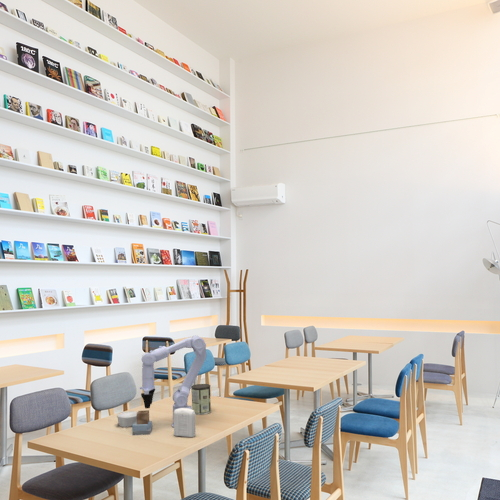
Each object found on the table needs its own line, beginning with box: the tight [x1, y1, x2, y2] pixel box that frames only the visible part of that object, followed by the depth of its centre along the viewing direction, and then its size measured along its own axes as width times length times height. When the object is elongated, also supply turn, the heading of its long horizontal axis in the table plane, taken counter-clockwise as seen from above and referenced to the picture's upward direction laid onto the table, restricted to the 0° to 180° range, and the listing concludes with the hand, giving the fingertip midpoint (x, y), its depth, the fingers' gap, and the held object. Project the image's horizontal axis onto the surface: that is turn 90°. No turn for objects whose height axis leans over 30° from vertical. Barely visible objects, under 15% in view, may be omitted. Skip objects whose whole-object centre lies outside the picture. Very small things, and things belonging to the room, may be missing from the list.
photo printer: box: [173, 408, 196, 438], centre depth 218 cm, size 10×4×12 cm, turn 72°
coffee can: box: [191, 383, 212, 416], centre depth 257 cm, size 10×10×14 cm
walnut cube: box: [136, 409, 150, 425], centre depth 225 cm, size 5×5×5 cm
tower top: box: [131, 420, 153, 432], centre depth 225 cm, size 7×7×2 cm
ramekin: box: [116, 410, 138, 428], centre depth 238 cm, size 11×11×5 cm
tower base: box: [132, 426, 153, 436], centre depth 224 cm, size 8×8×2 cm
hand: (148, 406), depth 231 cm, fingers open, 7 cm apart
